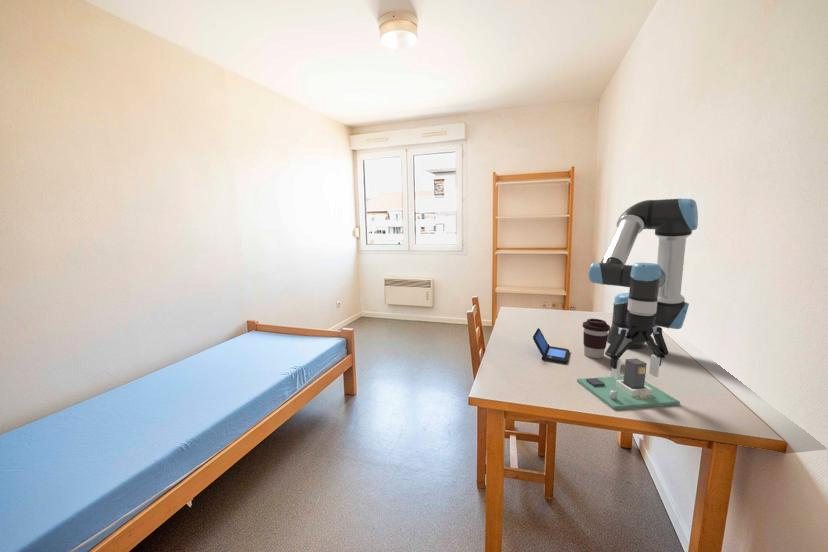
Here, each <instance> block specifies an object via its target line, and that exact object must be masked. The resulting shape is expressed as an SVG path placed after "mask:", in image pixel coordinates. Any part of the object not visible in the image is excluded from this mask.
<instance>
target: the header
mask: <svg viewBox="0 0 828 552" xmlns="http://www.w3.org/2000/svg"><path fill="white" fill-rule="evenodd" d="M615 386H616V387H618V388H619V389H621V390H622V391H624V392H625V393H627V394H628V395H630V396H631V397H633V396H639V397H644V396H647V395H652V389H651V388H649V387H648V386H646V385H644V388H643V389H631V388H630V387H628V386H626V385H625V384H623V380H616V385H615Z"/></svg>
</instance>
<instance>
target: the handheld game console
mask: <svg viewBox="0 0 828 552" xmlns="http://www.w3.org/2000/svg"><path fill="white" fill-rule="evenodd" d="M532 339H533V342H534V343H535V346H536V347H537V349H538V351H539V353H540V354H541V360H542V361H547V362H553V363H558V364H567V363H568V359H569V355H570V349H568V348H565V347H564V348H563V347H558V346H553V345H552V346H551V345H550V344H548V341H547V340H546V338H545V336H544V334H543V332H542V331H541V329H540V328H539V327H538V328H537V329H536V331H535V332H534V334H533V335H532Z"/></svg>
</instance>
